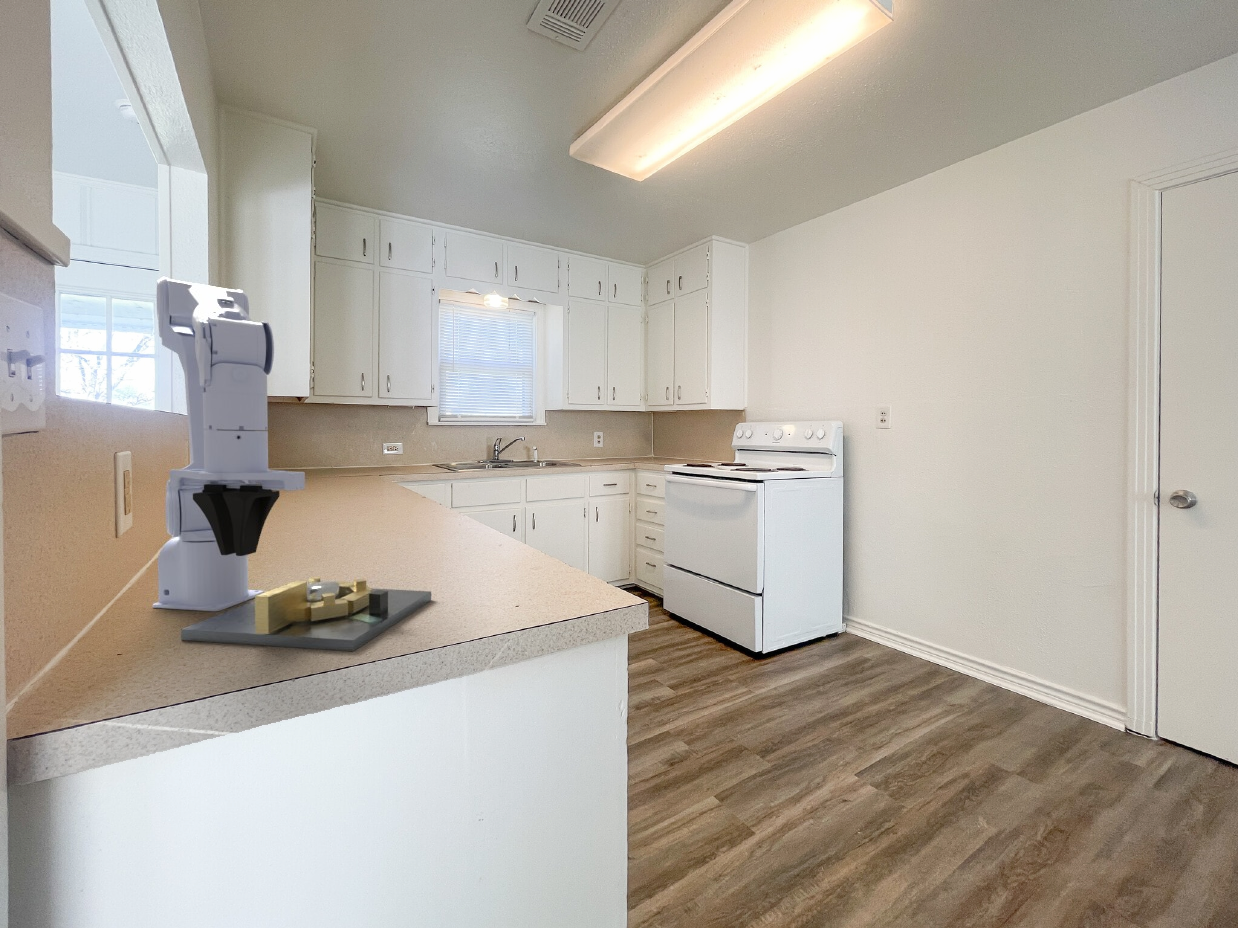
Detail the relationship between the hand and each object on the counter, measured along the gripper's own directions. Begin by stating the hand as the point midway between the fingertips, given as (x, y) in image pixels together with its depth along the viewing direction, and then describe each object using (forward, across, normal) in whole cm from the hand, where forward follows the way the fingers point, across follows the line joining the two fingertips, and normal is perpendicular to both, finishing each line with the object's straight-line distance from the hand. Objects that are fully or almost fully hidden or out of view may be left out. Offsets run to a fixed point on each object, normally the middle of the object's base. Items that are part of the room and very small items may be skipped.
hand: (238, 553), depth 59 cm
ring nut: (+8, +5, +5) cm, 11 cm away
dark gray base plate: (+9, +4, +7) cm, 13 cm away
